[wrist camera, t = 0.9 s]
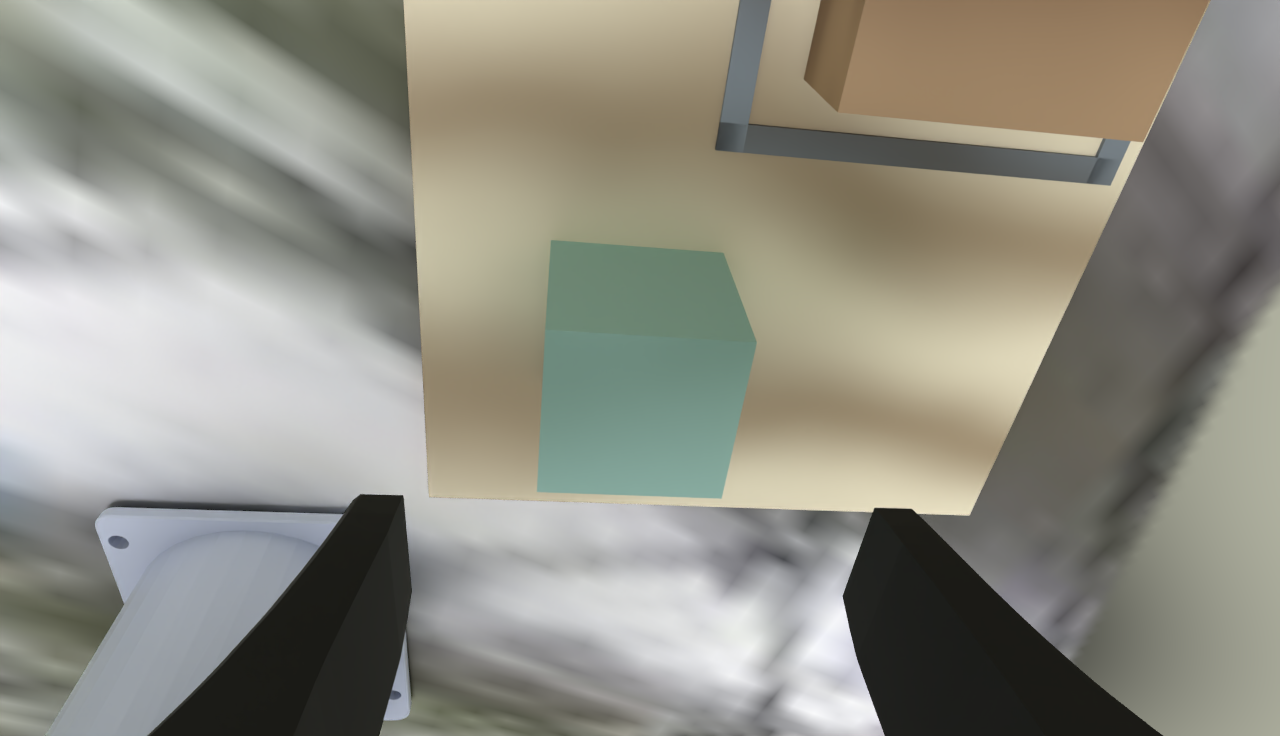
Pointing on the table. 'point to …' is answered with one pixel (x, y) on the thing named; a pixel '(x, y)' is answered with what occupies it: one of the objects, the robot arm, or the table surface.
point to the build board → (736, 242)
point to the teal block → (641, 371)
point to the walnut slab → (1004, 61)
